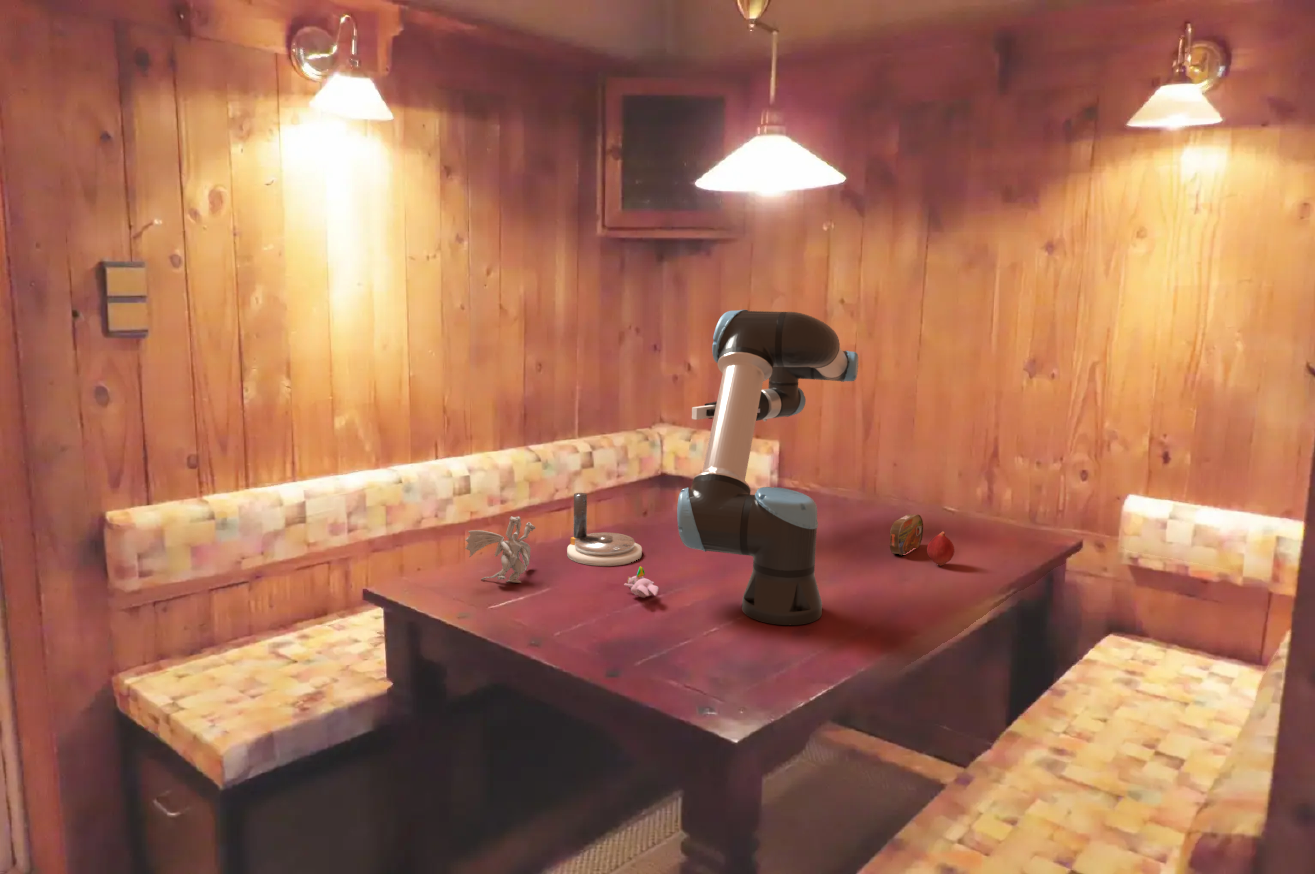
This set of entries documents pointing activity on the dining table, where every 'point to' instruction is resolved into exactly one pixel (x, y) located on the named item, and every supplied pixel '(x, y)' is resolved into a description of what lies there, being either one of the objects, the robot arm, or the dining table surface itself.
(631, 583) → the rabbit figure
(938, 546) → the onion
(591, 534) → the dial
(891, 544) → the tin
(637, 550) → the dial base
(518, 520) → the grey dragon figurine
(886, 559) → the dining table surface
